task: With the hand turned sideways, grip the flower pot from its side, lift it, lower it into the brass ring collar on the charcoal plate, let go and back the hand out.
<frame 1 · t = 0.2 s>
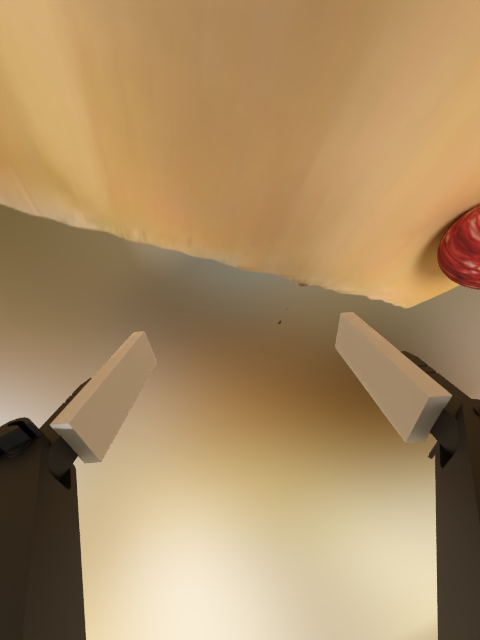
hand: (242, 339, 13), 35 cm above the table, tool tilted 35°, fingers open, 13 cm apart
decorative orb: (475, 214, 47), on the table
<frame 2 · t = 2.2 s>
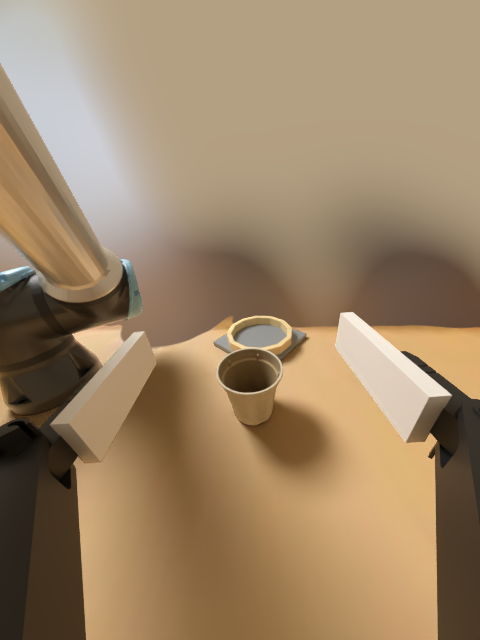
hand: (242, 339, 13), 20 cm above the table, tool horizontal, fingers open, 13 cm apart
flower pot: (253, 408, 31), on the table
collar plate: (259, 341, 47), on the table
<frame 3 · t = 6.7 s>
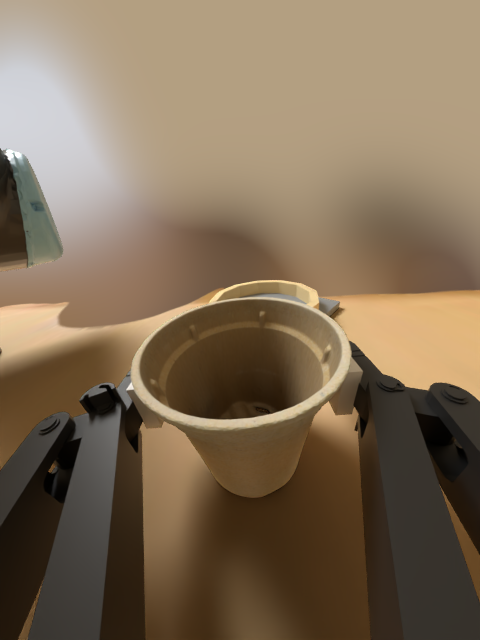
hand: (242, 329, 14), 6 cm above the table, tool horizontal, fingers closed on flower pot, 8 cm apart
flower pot: (251, 441, 13), on the table, touching gripper
collar plate: (263, 314, 29), on the table
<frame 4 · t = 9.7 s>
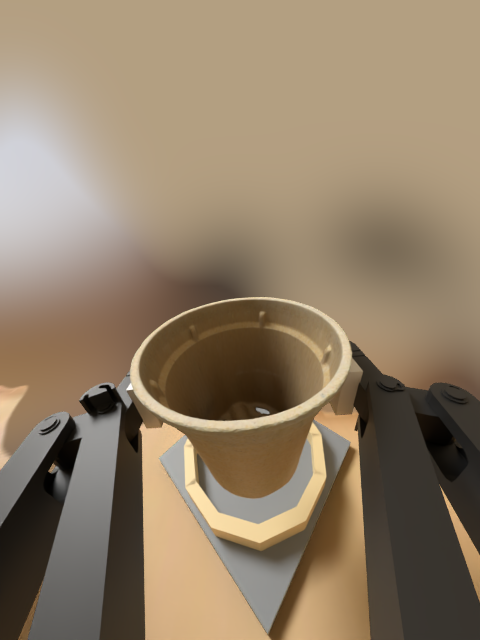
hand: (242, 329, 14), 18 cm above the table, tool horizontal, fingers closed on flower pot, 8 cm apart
flower pot: (252, 441, 13), point 12 cm above the table, touching gripper
collar plate: (253, 454, 23), on the table
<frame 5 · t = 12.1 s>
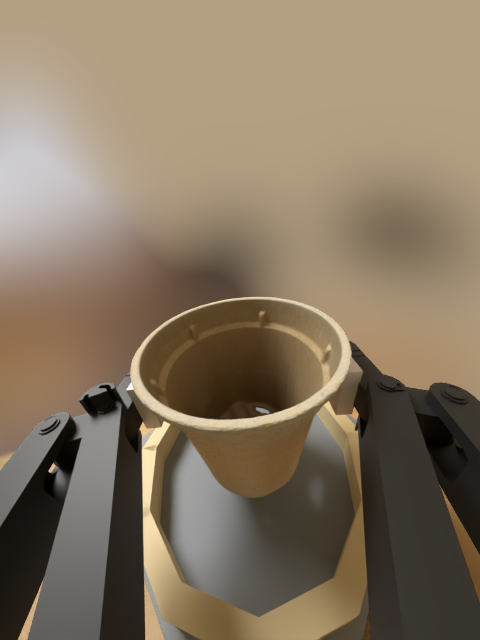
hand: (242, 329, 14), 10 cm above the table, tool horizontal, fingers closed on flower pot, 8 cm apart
flower pot: (252, 441, 13), point 3 cm above the table, touching gripper
collar plate: (252, 463, 15), on the table
when the fingers open (8 cm above the table, at t = 13.0 s): flower pot moves 3 cm, resting on collar plate.
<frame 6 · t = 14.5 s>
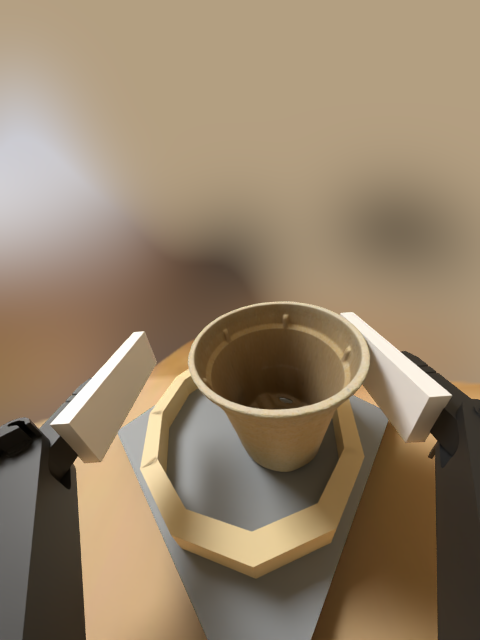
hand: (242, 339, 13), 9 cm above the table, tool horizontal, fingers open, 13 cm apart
flower pot: (278, 426, 15), point 1 cm above the table, touching collar plate, gripper
collar plate: (250, 430, 16), on the table
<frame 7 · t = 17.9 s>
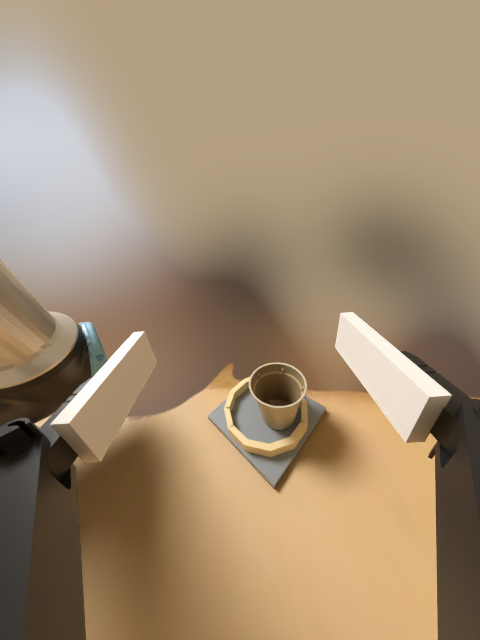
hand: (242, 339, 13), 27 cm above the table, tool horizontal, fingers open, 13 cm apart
flower pot: (278, 414, 36), point 1 cm above the table, touching collar plate
collar plate: (265, 415, 37), on the table
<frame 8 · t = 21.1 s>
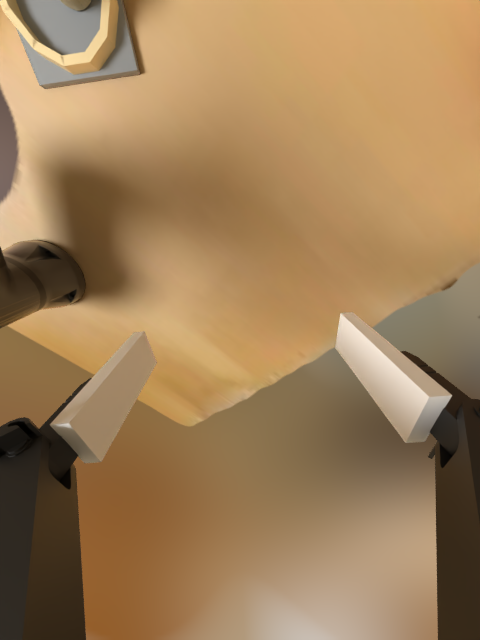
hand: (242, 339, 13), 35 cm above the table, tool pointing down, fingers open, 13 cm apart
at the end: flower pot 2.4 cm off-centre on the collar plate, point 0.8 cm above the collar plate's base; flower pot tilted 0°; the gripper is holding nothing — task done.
